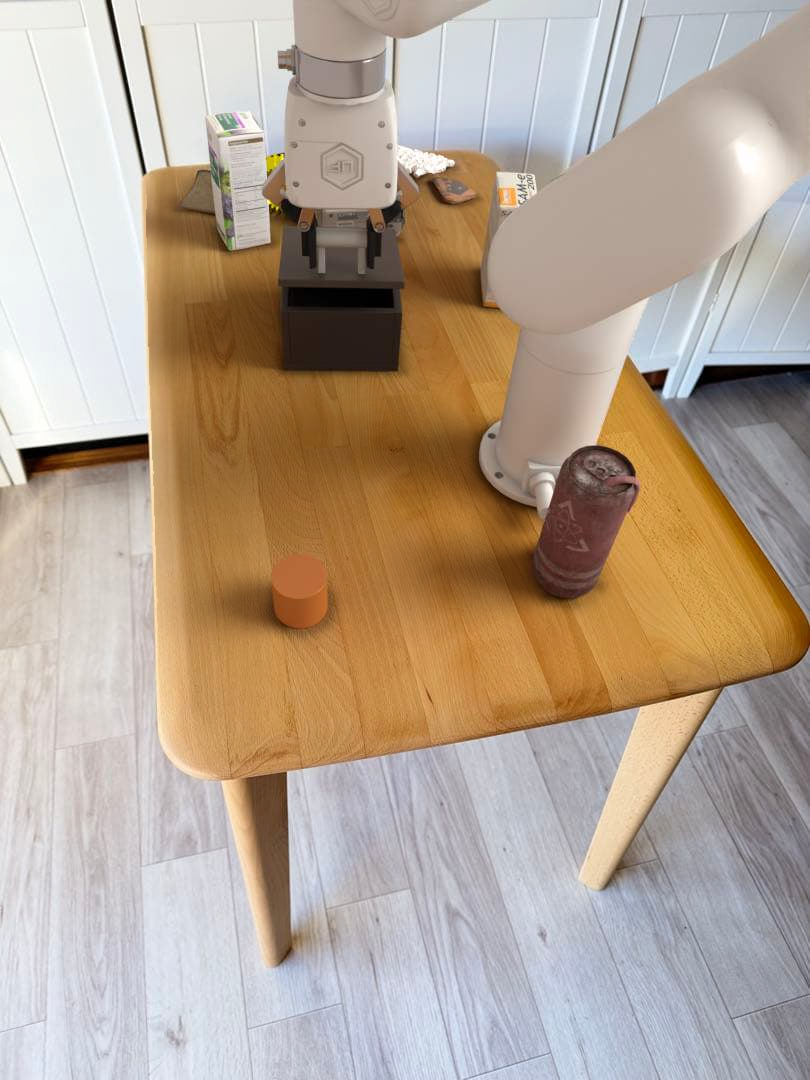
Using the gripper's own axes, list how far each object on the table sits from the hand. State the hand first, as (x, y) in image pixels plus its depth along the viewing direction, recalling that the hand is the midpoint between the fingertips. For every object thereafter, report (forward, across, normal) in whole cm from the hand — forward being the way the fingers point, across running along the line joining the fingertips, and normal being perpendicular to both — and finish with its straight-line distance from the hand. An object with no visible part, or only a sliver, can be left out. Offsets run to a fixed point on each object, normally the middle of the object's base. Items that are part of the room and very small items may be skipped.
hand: (341, 259), depth 82 cm
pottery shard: (+12, +19, +38) cm, 44 cm away
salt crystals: (+9, +6, +40) cm, 41 cm away
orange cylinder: (+12, -4, -34) cm, 36 cm away
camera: (+9, +3, +23) cm, 25 cm away
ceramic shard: (+10, -16, +33) cm, 38 cm away
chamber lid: (+3, 0, +5) cm, 5 cm away
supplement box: (+13, +20, +13) cm, 27 cm away
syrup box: (+12, -12, +24) cm, 30 cm away
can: (+13, +20, -31) cm, 39 cm away
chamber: (+12, 0, +5) cm, 13 cm away
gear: (+6, -4, +30) cm, 31 cm away
